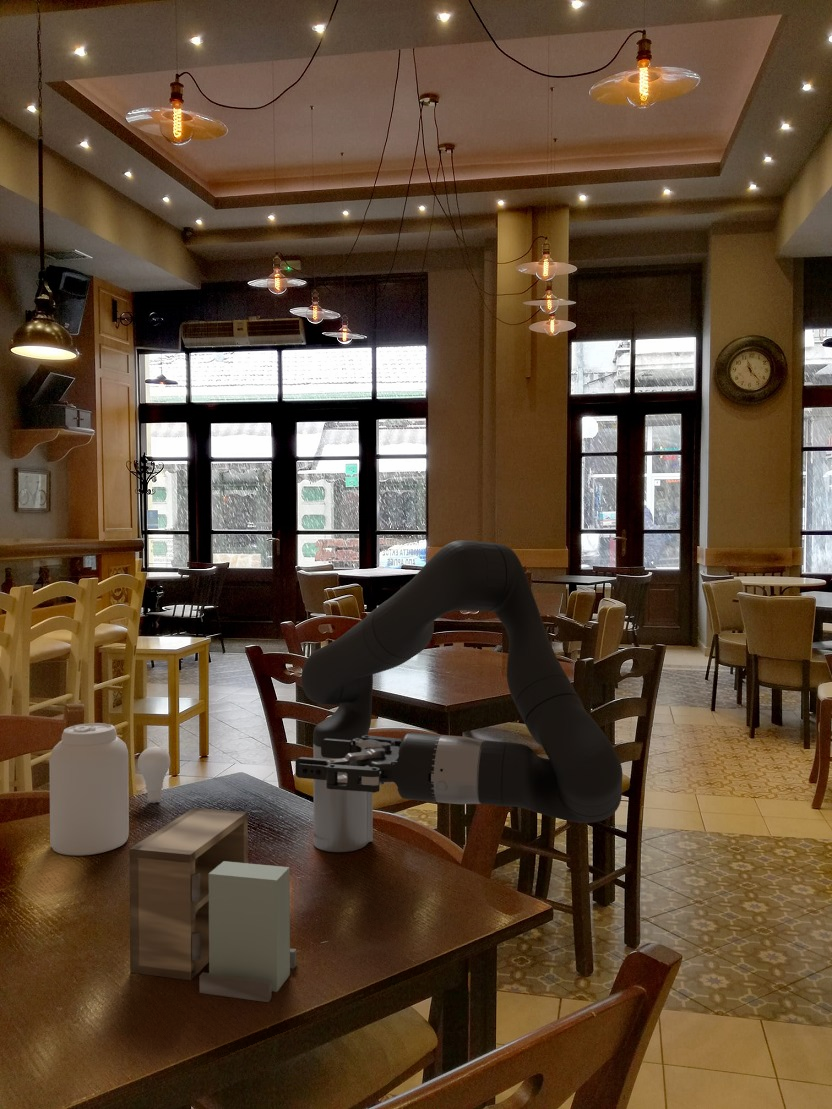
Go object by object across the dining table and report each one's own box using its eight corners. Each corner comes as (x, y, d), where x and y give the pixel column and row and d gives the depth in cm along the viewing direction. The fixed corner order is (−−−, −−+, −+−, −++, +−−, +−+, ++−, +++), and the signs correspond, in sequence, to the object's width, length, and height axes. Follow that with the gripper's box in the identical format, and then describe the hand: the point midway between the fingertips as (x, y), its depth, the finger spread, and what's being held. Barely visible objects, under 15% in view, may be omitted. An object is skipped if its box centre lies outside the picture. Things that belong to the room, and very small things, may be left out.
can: (50, 862, 140) (49, 738, 139) (49, 837, 151) (48, 722, 151) (132, 850, 145) (131, 731, 144) (125, 827, 156) (124, 716, 156)
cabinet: (194, 915, 120) (193, 807, 120) (323, 930, 116) (322, 818, 116) (119, 981, 103) (118, 855, 102) (268, 1002, 98) (268, 870, 98)
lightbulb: (177, 800, 172) (176, 745, 172) (155, 809, 166) (155, 752, 166) (153, 796, 174) (152, 741, 174) (131, 805, 169) (130, 748, 169)
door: (227, 962, 107) (227, 858, 107) (292, 970, 105) (292, 864, 105) (209, 983, 102) (208, 873, 102) (277, 991, 100) (276, 880, 100)
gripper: (455, 721, 107) (329, 712, 110) (430, 752, 93) (287, 740, 97) (454, 782, 107) (328, 771, 111) (429, 822, 93) (286, 807, 97)
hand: (309, 757), depth 104 cm, fingers open, 8 cm apart
